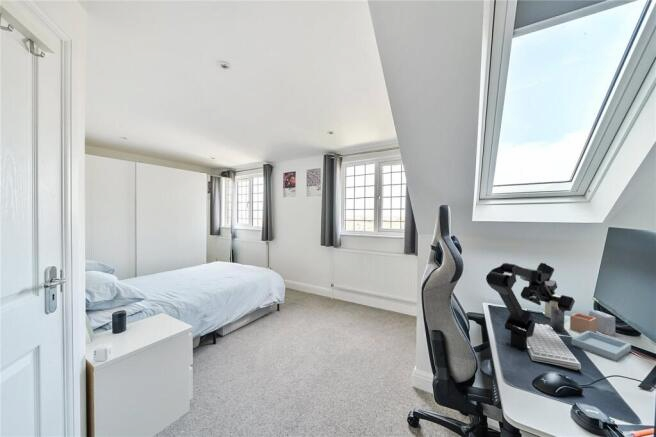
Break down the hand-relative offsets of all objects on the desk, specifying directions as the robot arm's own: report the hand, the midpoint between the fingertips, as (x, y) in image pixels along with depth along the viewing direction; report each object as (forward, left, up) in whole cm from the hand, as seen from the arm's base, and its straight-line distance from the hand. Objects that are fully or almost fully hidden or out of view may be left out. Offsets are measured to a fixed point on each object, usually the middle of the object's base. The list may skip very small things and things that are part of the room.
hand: (551, 307), depth 117 cm
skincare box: (+22, +8, -12) cm, 26 cm away
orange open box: (+16, -6, -12) cm, 21 cm away
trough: (+2, -16, -12) cm, 20 cm away
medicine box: (+24, -10, -12) cm, 29 cm away
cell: (+6, 0, -12) cm, 13 cm away
